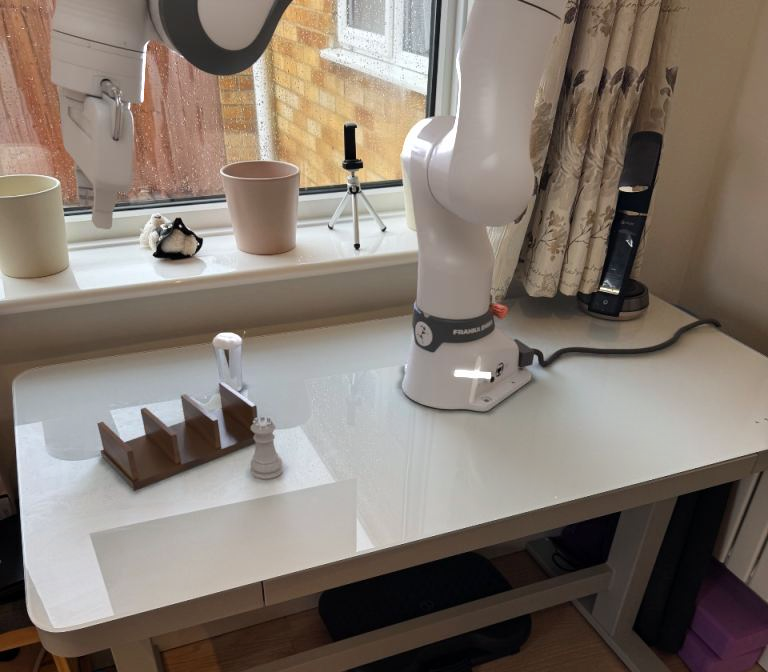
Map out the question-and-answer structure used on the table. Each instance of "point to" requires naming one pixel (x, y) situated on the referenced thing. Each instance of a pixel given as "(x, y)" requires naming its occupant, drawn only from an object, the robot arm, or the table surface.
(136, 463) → the plate rack
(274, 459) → the rook chess piece
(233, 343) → the milkshake
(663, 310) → the table surface
